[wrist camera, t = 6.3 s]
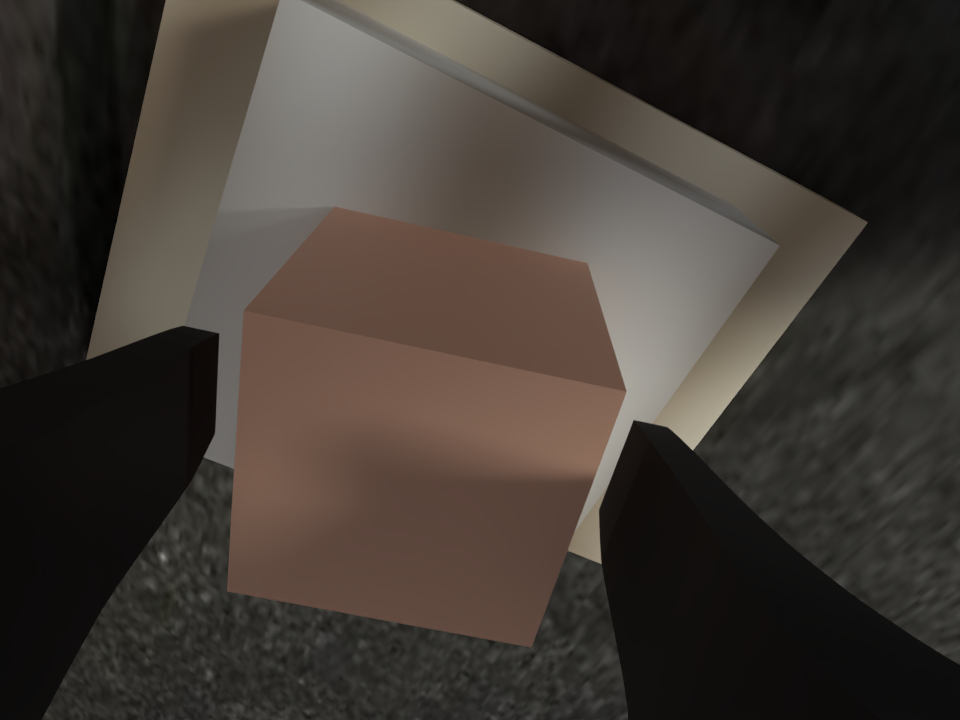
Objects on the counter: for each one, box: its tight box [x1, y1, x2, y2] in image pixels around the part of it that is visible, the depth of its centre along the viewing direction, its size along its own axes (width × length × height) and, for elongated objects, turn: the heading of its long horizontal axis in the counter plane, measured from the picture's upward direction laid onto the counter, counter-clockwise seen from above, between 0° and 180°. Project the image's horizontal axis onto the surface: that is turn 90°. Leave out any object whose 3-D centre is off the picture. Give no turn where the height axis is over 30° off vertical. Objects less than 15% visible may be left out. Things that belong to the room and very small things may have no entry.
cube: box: [227, 207, 627, 647], centre depth 12 cm, size 5×5×5 cm
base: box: [86, 0, 868, 564], centre depth 16 cm, size 16×12×4 cm
